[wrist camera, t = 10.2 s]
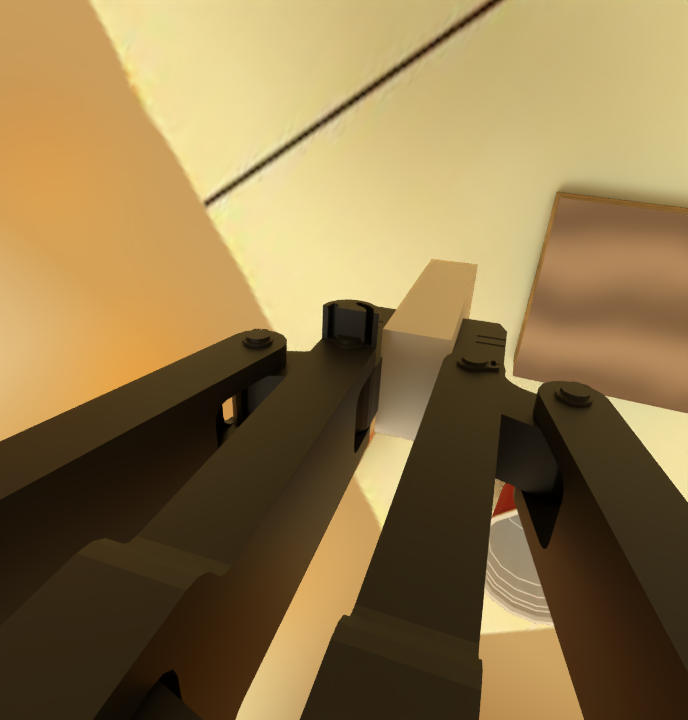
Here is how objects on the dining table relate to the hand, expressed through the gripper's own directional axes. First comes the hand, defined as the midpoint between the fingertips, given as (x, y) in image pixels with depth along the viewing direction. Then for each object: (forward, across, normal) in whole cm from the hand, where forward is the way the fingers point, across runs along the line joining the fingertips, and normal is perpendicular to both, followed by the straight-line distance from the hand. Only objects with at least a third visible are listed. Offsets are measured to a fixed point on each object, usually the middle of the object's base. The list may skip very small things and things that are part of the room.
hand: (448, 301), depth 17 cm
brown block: (+27, +11, -6) cm, 30 cm away
